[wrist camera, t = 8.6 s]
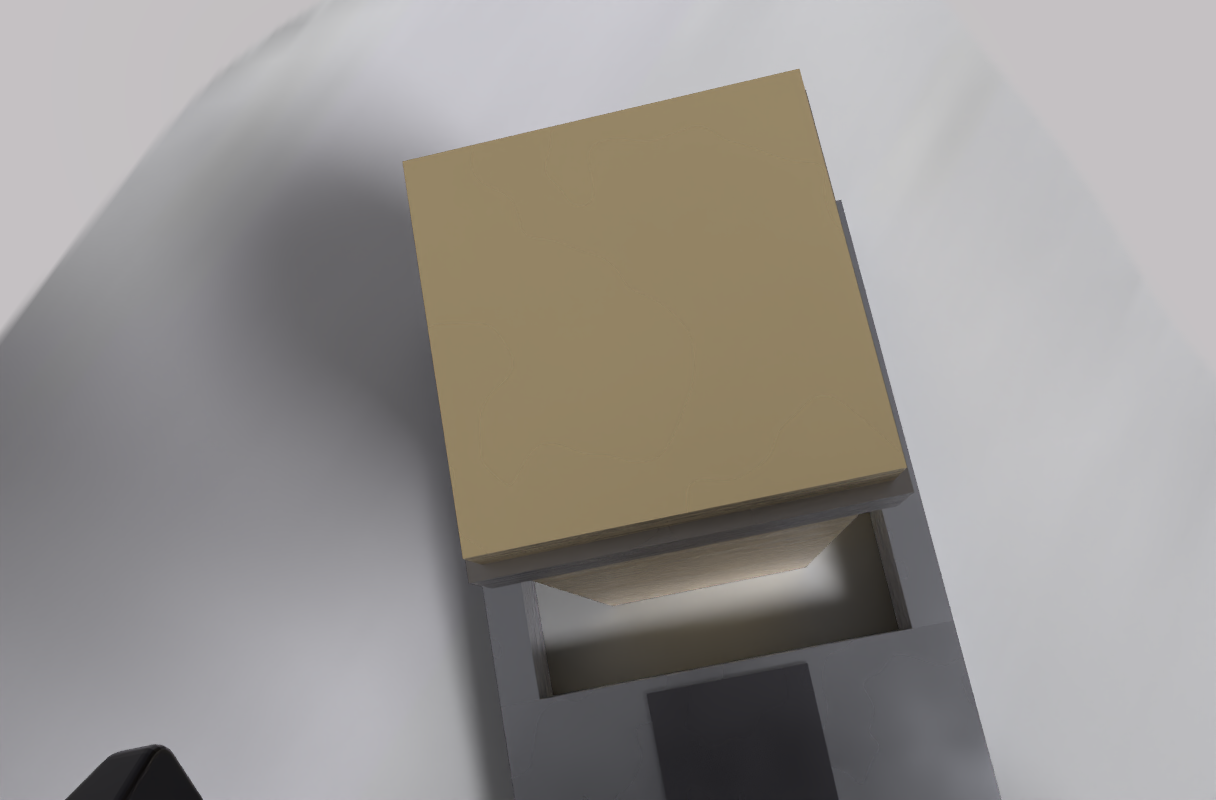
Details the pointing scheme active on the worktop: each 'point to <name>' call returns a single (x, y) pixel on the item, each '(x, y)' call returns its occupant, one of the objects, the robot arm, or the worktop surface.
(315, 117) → the worktop surface
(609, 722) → the rail plate
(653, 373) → the post
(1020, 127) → the worktop surface
